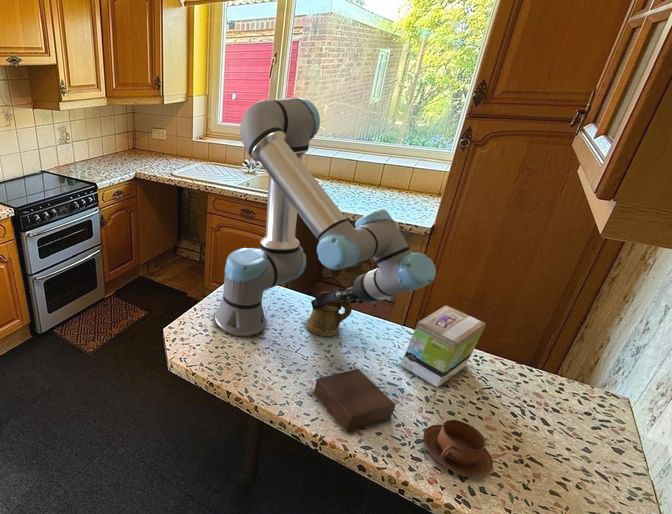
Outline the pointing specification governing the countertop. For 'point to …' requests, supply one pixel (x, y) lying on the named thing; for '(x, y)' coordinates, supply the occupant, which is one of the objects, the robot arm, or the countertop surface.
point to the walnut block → (353, 400)
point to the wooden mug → (328, 318)
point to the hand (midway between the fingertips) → (327, 303)
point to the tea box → (442, 345)
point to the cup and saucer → (459, 448)
